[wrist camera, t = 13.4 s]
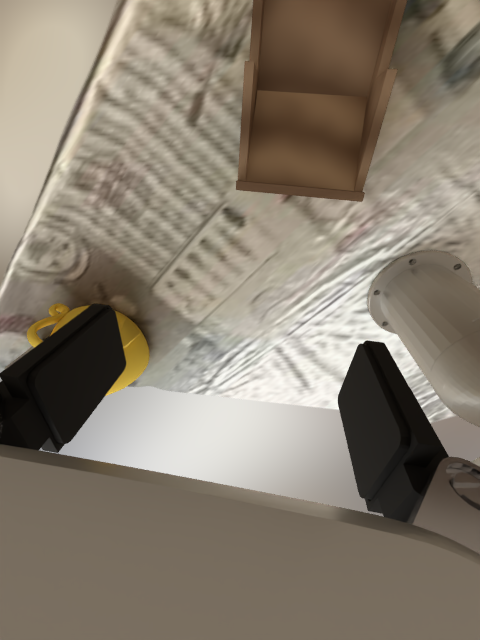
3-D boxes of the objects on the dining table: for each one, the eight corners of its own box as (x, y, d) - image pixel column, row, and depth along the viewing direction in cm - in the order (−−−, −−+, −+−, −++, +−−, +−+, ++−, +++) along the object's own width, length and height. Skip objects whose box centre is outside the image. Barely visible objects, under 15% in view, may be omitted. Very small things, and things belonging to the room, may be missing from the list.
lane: (347, 194, 31) (362, 201, 25) (244, 184, 32) (235, 189, 26) (465, -254, 17) (562, -474, 11) (274, -246, 18) (271, -444, 12)
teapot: (120, 382, 55) (80, 435, 45) (43, 319, 49) (-24, 363, 38) (184, 341, 47) (155, 395, 36) (102, 259, 41) (38, 294, 30)
